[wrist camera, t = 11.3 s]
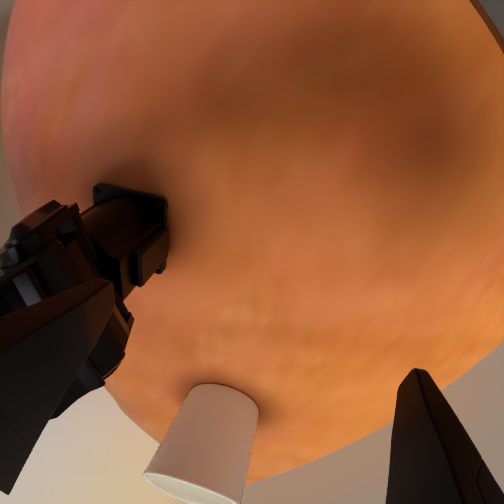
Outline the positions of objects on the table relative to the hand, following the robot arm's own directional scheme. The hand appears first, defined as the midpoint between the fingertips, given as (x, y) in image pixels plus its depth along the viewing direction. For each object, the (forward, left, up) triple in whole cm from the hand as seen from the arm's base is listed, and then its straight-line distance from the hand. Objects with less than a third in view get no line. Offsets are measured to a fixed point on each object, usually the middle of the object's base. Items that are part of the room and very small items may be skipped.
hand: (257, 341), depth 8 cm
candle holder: (-2, -26, -13) cm, 29 cm away
